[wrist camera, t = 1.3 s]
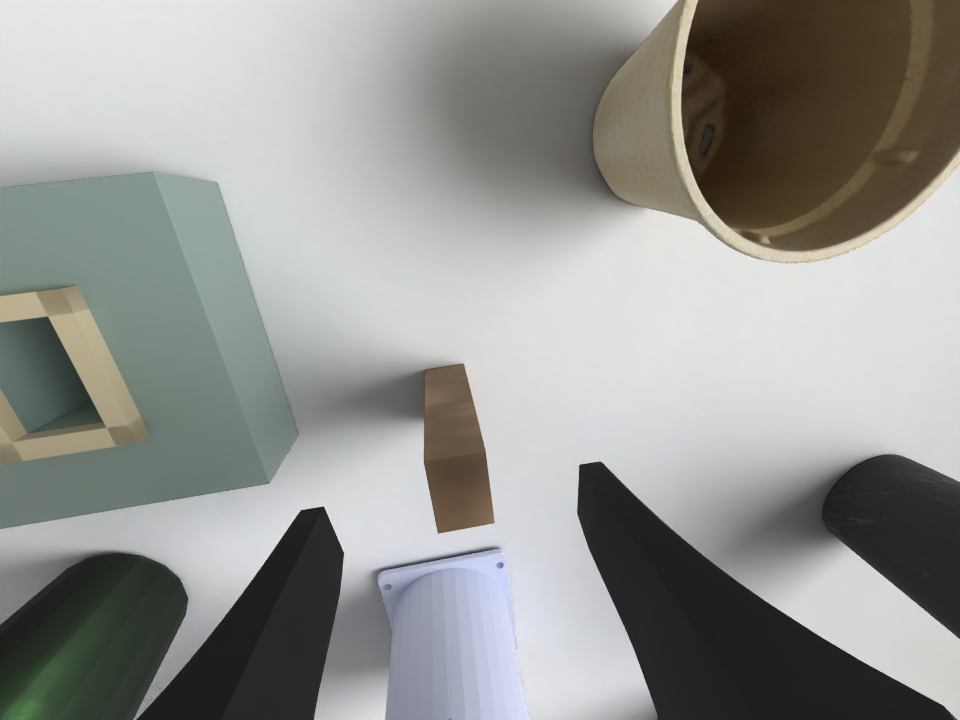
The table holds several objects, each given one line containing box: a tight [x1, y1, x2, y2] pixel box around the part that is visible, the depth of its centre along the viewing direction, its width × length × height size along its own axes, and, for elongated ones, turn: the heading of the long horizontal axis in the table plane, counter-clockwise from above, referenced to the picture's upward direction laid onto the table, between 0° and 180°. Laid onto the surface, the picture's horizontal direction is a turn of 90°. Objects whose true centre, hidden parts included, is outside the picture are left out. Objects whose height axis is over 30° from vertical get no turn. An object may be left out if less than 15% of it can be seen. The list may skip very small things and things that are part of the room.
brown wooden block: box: [424, 364, 494, 533], centre depth 17 cm, size 2×3×8 cm, turn 6°
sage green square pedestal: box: [0, 172, 299, 529], centre depth 15 cm, size 12×12×5 cm
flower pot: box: [593, 0, 960, 263], centre depth 13 cm, size 9×9×9 cm
